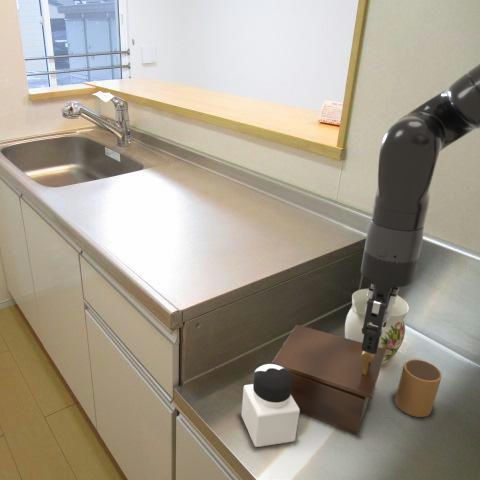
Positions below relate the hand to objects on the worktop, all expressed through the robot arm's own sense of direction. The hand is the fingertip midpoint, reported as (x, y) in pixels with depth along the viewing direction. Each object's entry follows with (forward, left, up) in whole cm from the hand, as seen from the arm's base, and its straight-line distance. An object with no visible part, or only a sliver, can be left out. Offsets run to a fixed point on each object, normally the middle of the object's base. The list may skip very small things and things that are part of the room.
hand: (374, 337), depth 75 cm
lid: (+6, +1, -7) cm, 10 cm away
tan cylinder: (-7, -7, -15) cm, 18 cm away
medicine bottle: (+10, +15, -16) cm, 24 cm away
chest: (+7, +1, -15) cm, 17 cm away
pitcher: (+3, -17, -16) cm, 23 cm away
